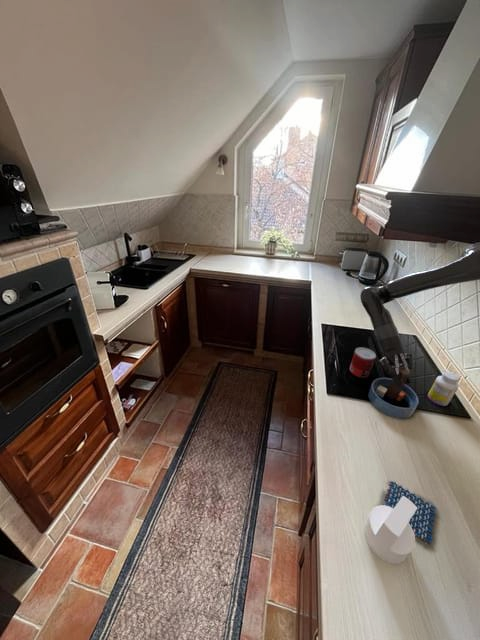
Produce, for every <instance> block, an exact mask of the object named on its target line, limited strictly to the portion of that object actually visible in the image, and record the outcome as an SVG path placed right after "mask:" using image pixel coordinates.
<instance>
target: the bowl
mask: <svg viewBox="0 0 480 640" xmlns="http://www.w3.org/2000/svg"><path fill="white" fill-rule="evenodd" d="M392 379H393V378H390V377H378V378H376V379H374V380H373V381H372V382H371V384H370V387H369V389H368V394H367V396H368V397H367V398H368V399H369V401H370V403H371V404H372V406H374V407H375V408H376V409H377V410H378V411H380V412H382V413H383V414H385V415H388V416H389V417H393V418H397V419H407V418H409V417H411V416H413V415H414V413H415V411H416V410H417V407H418V405H419V404H420V402H419V397H418V395H417V393H416V392H415V391H414V389H412V388H411V387H410V386H409V385H408V384H405V385H404V387H403V388H402V390H401V391H403V392H404V393H406V395H405V397H404V399H403V400H404V401H405V402H406V403H407V405H408V407H400V406H397V405H393V404H391V403H389V402H387V401H385V400H384V399H383V398H382V397H380V396H379V395H377V394H376V393H375V392H376V389H377V388H378V387H379V386H380V385H381V386H383V387H385V388H387V389H388V387H389V385H390V383H391V381H392Z"/></svg>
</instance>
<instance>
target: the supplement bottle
mask: <svg viewBox="0 0 480 640" xmlns="http://www.w3.org/2000/svg"><path fill="white" fill-rule="evenodd" d="M459 380H460V376H459V375H458V374H457V373H455V372H452V371H449V370H445V371H443V372H442V374H441V375H438V376H437V377H436V378H435V380H434V382H433V384H432V386H431V387H430V389H429V391H428V393H427V398H428V399H429V400H430V401H431V402H432V403H434V404H435V405H437V406H442V407H447V406H448V405H449V404H450V403H451V401H452V399H453V397H454V396H455V394H456V392H457V391H458V389H459V387H460V386H459V383H458V382H459Z"/></svg>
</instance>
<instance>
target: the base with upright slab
mask: <svg viewBox="0 0 480 640" xmlns="http://www.w3.org/2000/svg"><path fill="white" fill-rule="evenodd" d="M416 510H417V507H416V506H415V505H414V504H413V503H412V502H411V501H410V500H409V499H407V498H406V497H405V496H402V498H401V499H400V500H399V502H398V503H397V505H396V506H395V507H394V509H393V508H391V507H389V505H388V506H385V504H384V505H383V504H379V505H376V506H374V507H373V508H372V509H371V511H370V512H369V514H368V516H367V518H366V519H365V521H364V524H363V534H364V537H365V540H366V542H367V544H368V546H369V548H370V549H371V550H372V551H373V553H374V554H375V555H376V556H377V557H379V558H380V559H381V560H383V562H386V563H389V564H391V565H392V564H393V565H398V564H401V563H403V562H404V561H405V560H406V559H407V557H408V556H409V555H411V553H412V552H413V551H414V550H415V546H416V536H414V532H413V530H412V528H411V526H410V524H409V523H408V522H409V521H410V519H411V517H412V516H413V514H414V513H415V511H416ZM415 514H416V513H415Z"/></svg>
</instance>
